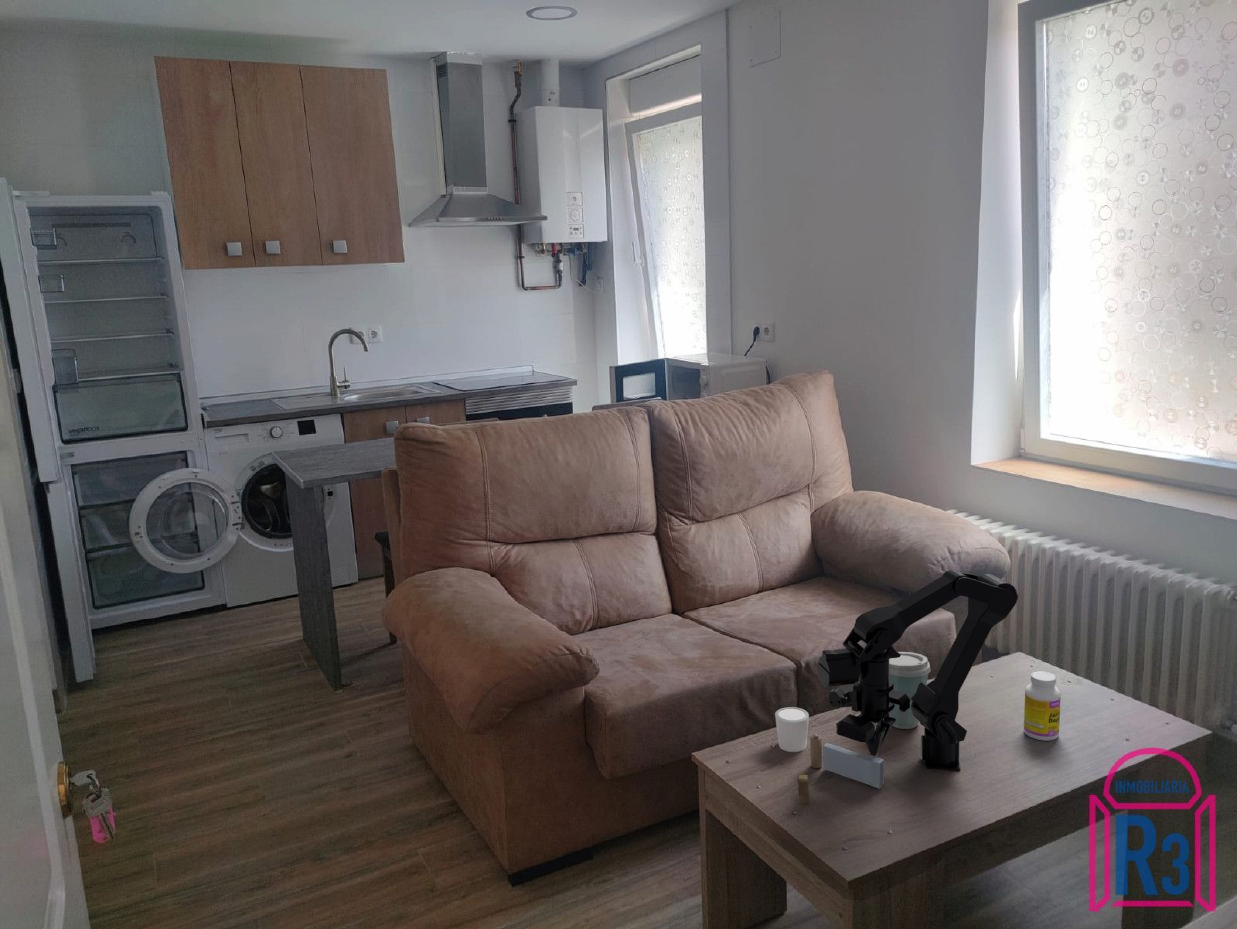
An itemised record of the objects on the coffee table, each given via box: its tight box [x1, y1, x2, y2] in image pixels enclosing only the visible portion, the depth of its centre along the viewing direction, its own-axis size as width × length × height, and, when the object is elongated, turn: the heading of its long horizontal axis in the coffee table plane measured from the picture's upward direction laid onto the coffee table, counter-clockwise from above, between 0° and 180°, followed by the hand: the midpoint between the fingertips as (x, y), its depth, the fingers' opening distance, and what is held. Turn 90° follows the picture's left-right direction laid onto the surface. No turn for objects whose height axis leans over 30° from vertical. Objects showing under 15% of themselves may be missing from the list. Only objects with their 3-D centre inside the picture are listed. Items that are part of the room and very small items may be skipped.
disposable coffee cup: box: [889, 651, 931, 730], centre depth 197 cm, size 11×11×15 cm
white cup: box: [774, 706, 810, 753], centre depth 191 cm, size 7×7×7 cm
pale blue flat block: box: [809, 733, 885, 789], centre depth 178 cm, size 15×2×6 cm, turn 47°
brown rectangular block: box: [797, 774, 810, 805], centre depth 170 cm, size 2×2×5 cm
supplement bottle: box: [1023, 670, 1062, 742], centre depth 189 cm, size 7×7×13 cm
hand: (873, 755), depth 179 cm, fingers closed
